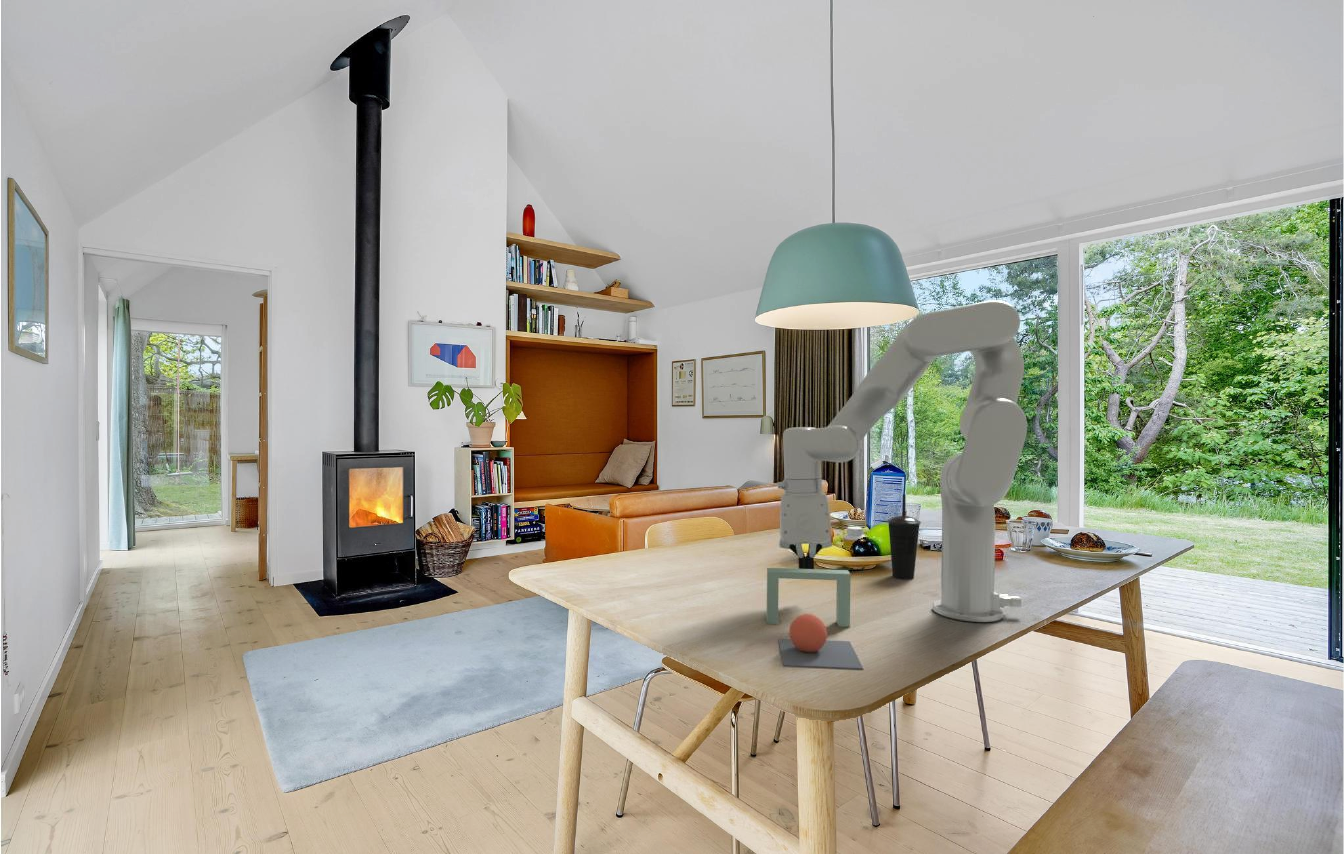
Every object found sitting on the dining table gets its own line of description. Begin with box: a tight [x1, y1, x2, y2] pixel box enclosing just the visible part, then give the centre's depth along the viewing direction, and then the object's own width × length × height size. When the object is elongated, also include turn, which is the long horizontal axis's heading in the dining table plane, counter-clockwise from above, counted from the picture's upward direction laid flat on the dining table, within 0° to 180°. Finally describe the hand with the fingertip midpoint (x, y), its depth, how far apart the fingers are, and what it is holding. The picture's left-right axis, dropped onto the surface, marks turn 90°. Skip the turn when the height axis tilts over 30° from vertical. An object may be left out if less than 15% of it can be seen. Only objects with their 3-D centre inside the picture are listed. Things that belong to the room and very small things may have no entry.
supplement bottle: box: [842, 526, 866, 570], centre depth 166 cm, size 6×6×10 cm
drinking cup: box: [886, 493, 922, 580], centre depth 156 cm, size 8×8×20 cm
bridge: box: [766, 567, 851, 628], centre depth 120 cm, size 3×15×10 cm, turn 84°
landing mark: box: [777, 637, 864, 671], centre depth 104 cm, size 12×12×1 cm
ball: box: [788, 613, 828, 653], centre depth 105 cm, size 6×6×6 cm
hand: (806, 575), depth 133 cm, fingers closed
